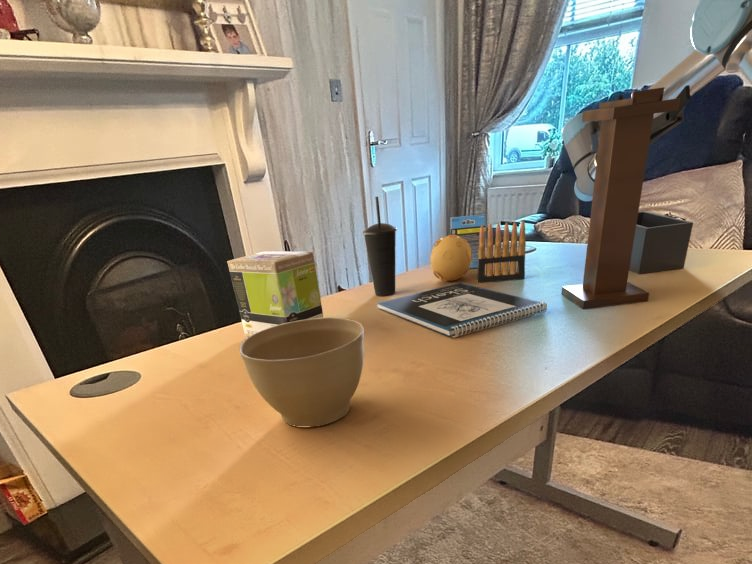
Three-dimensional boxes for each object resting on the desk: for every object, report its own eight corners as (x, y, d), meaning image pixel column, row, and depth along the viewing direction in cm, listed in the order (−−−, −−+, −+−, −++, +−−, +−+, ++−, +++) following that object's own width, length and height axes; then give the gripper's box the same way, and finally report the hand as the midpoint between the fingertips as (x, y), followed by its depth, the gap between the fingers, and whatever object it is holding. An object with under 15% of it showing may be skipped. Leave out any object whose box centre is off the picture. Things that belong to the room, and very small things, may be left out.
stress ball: (425, 280, 132) (423, 235, 126) (462, 273, 133) (462, 229, 128) (439, 287, 124) (438, 240, 118) (478, 280, 125) (478, 233, 120)
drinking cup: (397, 287, 129) (390, 193, 118) (404, 294, 123) (397, 195, 111) (367, 292, 129) (356, 198, 117) (372, 299, 122) (362, 200, 111)
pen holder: (599, 256, 131) (604, 216, 126) (638, 251, 131) (644, 211, 126) (638, 274, 114) (646, 228, 109) (683, 268, 113) (693, 222, 108)
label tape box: (485, 264, 139) (486, 211, 132) (485, 268, 135) (486, 213, 128) (452, 267, 141) (450, 215, 133) (451, 270, 137) (449, 217, 130)
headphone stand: (560, 293, 108) (578, 100, 90) (619, 286, 108) (648, 90, 90) (583, 310, 98) (609, 95, 80) (649, 301, 97) (689, 83, 79)
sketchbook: (460, 288, 122) (460, 279, 121) (549, 313, 99) (550, 302, 98) (377, 308, 116) (376, 298, 114) (452, 340, 93) (452, 328, 91)
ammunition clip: (524, 277, 123) (527, 219, 116) (524, 279, 122) (527, 220, 115) (477, 280, 125) (477, 224, 119) (477, 282, 124) (477, 225, 117)
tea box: (327, 330, 106) (314, 250, 98) (290, 346, 101) (273, 262, 92) (280, 322, 115) (264, 248, 107) (243, 336, 110) (224, 259, 101)
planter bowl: (274, 394, 81) (257, 323, 75) (377, 387, 79) (369, 312, 73) (244, 444, 69) (221, 363, 62) (366, 437, 66) (355, 352, 60)
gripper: (662, 165, 130) (717, 107, 108) (560, 180, 131) (595, 125, 109) (660, 133, 129) (715, 68, 108) (558, 148, 130) (592, 86, 109)
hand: (654, 97), depth 109 cm, fingers open, 13 cm apart
